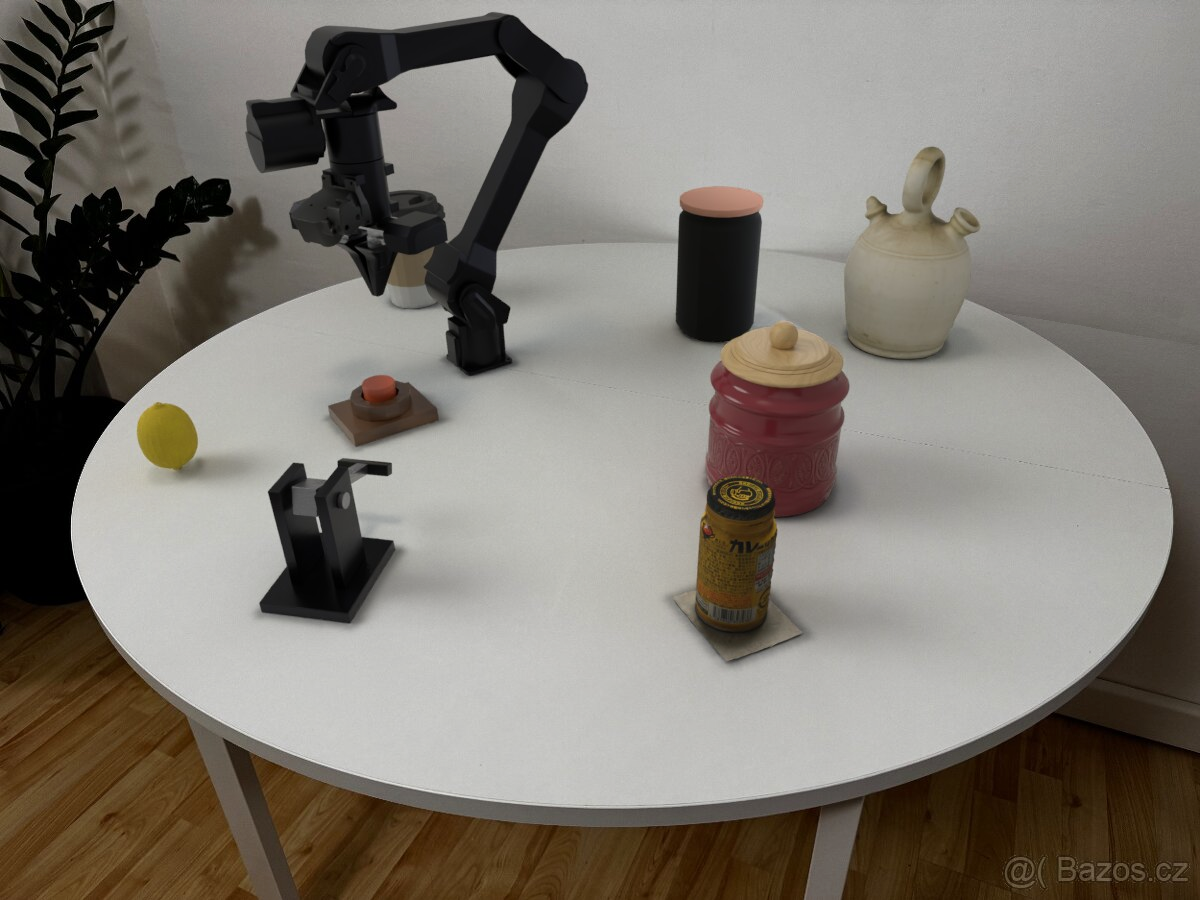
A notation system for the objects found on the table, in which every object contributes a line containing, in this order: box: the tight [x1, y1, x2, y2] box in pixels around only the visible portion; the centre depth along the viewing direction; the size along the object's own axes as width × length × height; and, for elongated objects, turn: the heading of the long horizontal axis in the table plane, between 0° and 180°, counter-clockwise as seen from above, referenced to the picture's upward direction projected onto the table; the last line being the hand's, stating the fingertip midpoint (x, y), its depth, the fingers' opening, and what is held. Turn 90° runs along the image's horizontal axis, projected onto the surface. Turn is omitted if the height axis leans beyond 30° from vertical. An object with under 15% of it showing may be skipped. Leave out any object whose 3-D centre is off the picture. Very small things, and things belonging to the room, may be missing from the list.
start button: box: [361, 374, 396, 402], centre depth 101 cm, size 4×4×2 cm
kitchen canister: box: [704, 320, 851, 517], centre depth 86 cm, size 13×13×18 cm
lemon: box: [136, 401, 199, 471], centre depth 93 cm, size 6×6×8 cm
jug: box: [843, 146, 981, 360], centre depth 112 cm, size 15×16×25 cm
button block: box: [327, 379, 440, 448], centre depth 102 cm, size 10×8×4 cm
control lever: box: [292, 457, 393, 518], centre depth 79 cm, size 12×5×2 cm, turn 169°
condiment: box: [671, 476, 803, 662], centre depth 71 cm, size 7×8×12 cm
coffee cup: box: [375, 189, 446, 310], centre depth 129 cm, size 11×11×15 cm
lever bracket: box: [259, 462, 396, 624], centre depth 76 cm, size 10×8×11 cm
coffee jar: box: [675, 185, 764, 344], centre depth 118 cm, size 11×11×18 cm
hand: (378, 295), depth 103 cm, fingers closed
